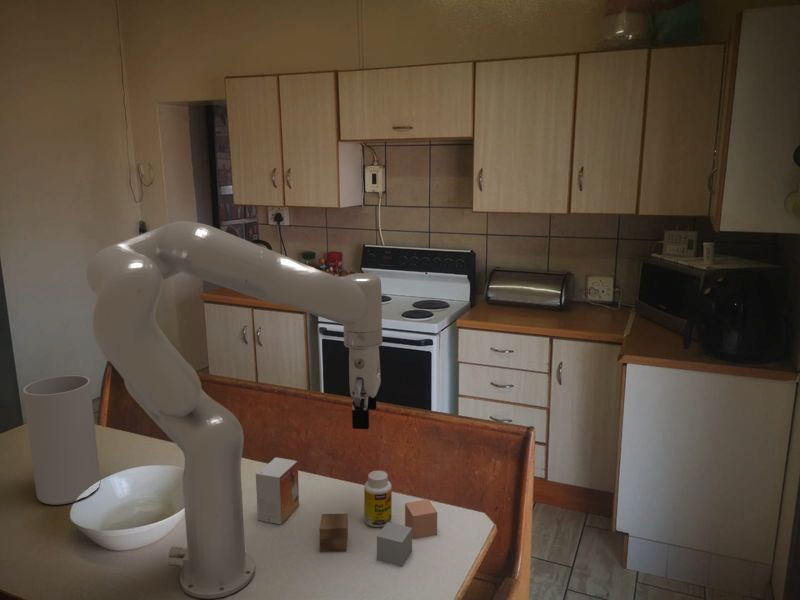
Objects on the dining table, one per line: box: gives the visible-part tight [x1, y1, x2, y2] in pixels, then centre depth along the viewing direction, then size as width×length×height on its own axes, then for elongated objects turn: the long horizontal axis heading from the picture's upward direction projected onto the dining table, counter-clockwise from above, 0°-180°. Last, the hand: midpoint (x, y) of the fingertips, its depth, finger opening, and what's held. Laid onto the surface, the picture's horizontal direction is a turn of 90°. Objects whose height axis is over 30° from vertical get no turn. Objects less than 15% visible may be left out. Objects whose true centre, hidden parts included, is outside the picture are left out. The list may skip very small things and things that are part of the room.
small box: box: [255, 456, 300, 526], centre depth 126 cm, size 8×6×10 cm
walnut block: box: [318, 513, 349, 553], centre depth 116 cm, size 5×5×5 cm
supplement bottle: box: [363, 470, 393, 528], centre depth 123 cm, size 6×6×10 cm
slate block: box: [376, 521, 413, 568], centre depth 112 cm, size 5×5×5 cm
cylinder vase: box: [22, 374, 101, 506], centre depth 132 cm, size 12×12×25 cm
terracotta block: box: [404, 499, 438, 540], centre depth 120 cm, size 5×5×5 cm
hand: (364, 418), depth 122 cm, fingers open, 9 cm apart
